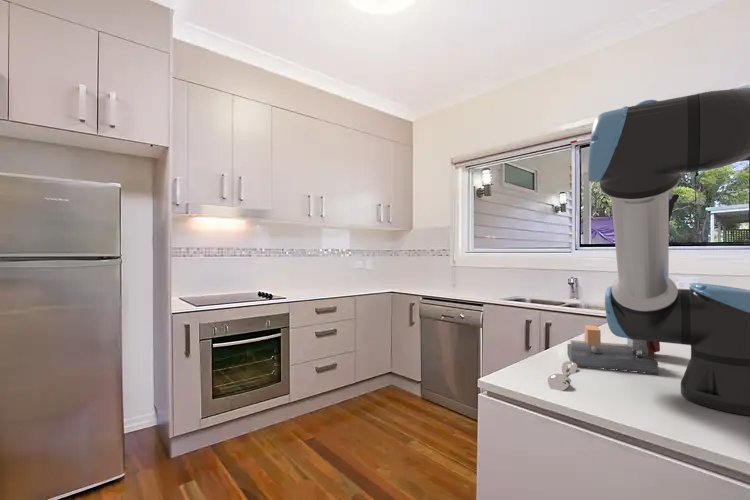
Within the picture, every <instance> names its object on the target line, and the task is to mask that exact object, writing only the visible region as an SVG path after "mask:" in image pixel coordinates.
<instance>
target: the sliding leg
mask: <svg viewBox="0 0 750 500" xmlns="http://www.w3.org/2000/svg"><path fill="white" fill-rule="evenodd" d="M601 340H602V339H601V329H600V328H599V327H598V325H588V324H587V325H585V324H584V341H586V342H587V344H588V345H591V351H592V352H596V345H599V346H601V343H602V341H601Z"/></svg>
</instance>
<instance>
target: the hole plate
mask: <svg viewBox="0 0 750 500" xmlns="http://www.w3.org/2000/svg"><path fill="white" fill-rule="evenodd" d="M567 356H568V360H569V361H572V362H574V363H576V364H577V368H579V367H580V368H588V367H590V369H598V368H604V369H603V370H608V369H615V370H614V371H619V370H627V371H626V372H629V371H637V372H636V373H639V372H645V373H644V374H650V373H654V374H653V375H659V374H658V373H659V371H658V370H659V367H658V366H659V364H658V363H659V362H658V361H657V360H656V359H655V358H654V356H653V357H651V356H650V355H649V354H648V355H642V357H637V356H636V354H624V353H611V352H599V351H596V352H592V351H587V350H575V349H571V343H567ZM571 366H573V365H572V364H570V367H571ZM616 369H617V370H616Z"/></svg>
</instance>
